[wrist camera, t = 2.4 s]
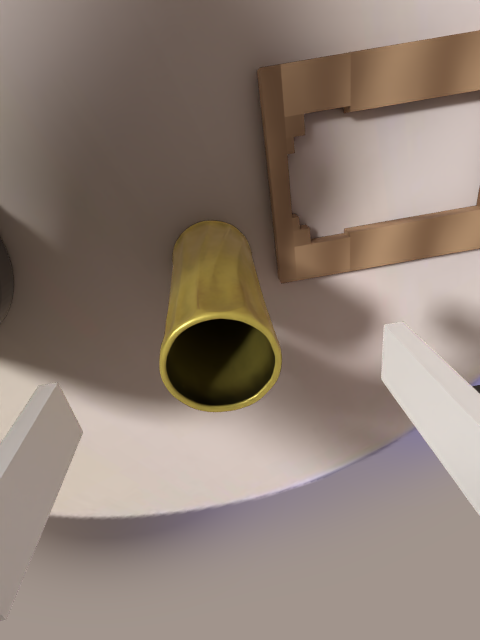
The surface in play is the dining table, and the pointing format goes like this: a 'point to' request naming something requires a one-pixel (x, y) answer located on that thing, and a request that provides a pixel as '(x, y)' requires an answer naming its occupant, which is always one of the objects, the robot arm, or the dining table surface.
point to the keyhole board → (354, 95)
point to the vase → (217, 323)
